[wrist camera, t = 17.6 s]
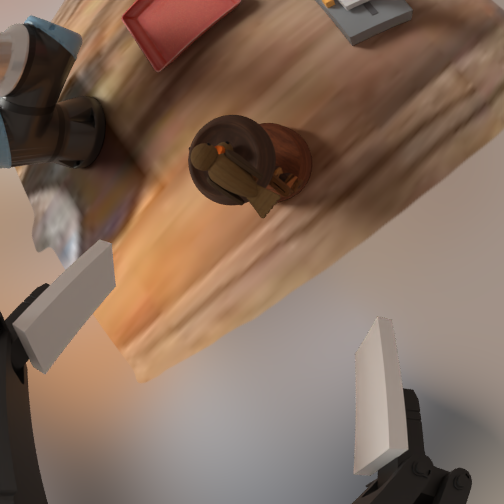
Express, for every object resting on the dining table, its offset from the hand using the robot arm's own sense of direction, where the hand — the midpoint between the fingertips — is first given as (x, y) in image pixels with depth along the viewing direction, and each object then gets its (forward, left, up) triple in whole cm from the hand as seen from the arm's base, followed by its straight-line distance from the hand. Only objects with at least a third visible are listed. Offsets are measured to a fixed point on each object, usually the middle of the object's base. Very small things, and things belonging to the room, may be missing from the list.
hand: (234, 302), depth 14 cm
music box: (-11, +1, -30) cm, 32 cm away
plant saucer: (-38, +17, -30) cm, 51 cm away
